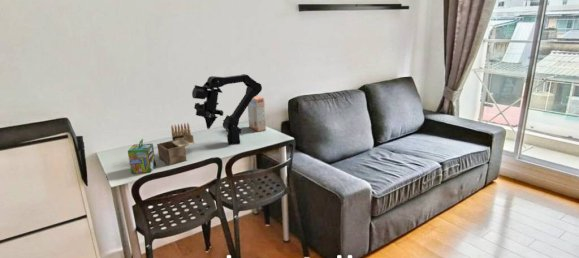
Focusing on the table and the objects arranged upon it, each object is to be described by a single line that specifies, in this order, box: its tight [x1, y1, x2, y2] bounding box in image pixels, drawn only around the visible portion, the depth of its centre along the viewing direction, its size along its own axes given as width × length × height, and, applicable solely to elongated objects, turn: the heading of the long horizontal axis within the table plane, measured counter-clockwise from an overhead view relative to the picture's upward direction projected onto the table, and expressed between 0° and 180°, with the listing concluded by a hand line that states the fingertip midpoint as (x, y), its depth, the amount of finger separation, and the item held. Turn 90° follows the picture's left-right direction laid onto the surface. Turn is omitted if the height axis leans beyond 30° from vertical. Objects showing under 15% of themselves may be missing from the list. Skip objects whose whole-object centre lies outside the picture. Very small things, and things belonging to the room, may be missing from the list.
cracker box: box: [247, 95, 267, 133], centre depth 220 cm, size 14×6×21 cm, turn 30°
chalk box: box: [127, 138, 157, 174], centre depth 162 cm, size 9×9×15 cm
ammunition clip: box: [170, 122, 192, 141], centre depth 198 cm, size 11×2×12 cm, turn 116°
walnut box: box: [156, 140, 187, 167], centre depth 174 cm, size 9×13×8 cm
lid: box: [171, 132, 196, 147], centre depth 176 cm, size 8×11×4 cm
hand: (208, 128), depth 186 cm, fingers closed
